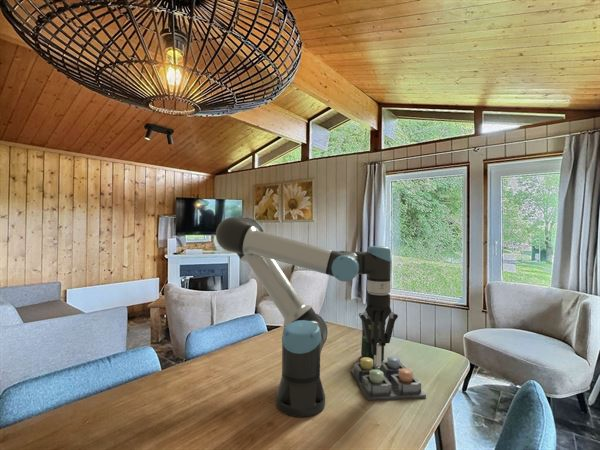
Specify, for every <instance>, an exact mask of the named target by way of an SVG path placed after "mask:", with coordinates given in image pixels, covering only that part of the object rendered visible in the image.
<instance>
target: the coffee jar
mask: <svg viewBox="0 0 600 450" xmlns="http://www.w3.org/2000/svg"><path fill="white" fill-rule="evenodd" d="M367 322H368V326H369V331H370V335H371V319H370V317H369V316H368V315H367ZM361 326H362V327H361V328H362V329H361V333H362V334H361V348H360V349H361V358H363V357H368V358H371V359H373V363H374V355H373V354H372V352H371V347H372V345H371V344H369V343H368V342H367V341H366V338H365V333H364V329H363V324H362V323H361ZM378 340H379V322H378V326H377V343H379V341H378ZM384 361H385V353H384V354H383V355H381V362H384Z"/></svg>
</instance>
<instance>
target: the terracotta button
mask: <svg viewBox="0 0 600 450" xmlns="http://www.w3.org/2000/svg"><path fill="white" fill-rule="evenodd" d="M413 373H414V372H413V370H411V369H408V368H407V369H404V368H402V369H399V381H400V382H402V383H412V382H413V375H414V374H413Z"/></svg>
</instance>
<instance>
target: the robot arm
mask: <svg viewBox="0 0 600 450" xmlns="http://www.w3.org/2000/svg"><path fill="white" fill-rule="evenodd" d="M215 238H216V242H217V244H218V246H219V247H221V248H222V249H223V250H225V251H228V252H230V253H236V255H237V257H239V259H240V260H241V261H243V262H246V263H248V265H249V267H250V268H251V270H252V271H253V273H254V275H255V276H256V278H257V279H258V280H259V282H260V283H261V285H262V286H263V288H264V290H265V291H266V292H267V294H268V295H269V297H270V298H271V300H272V302H273V304H274V305H275V307H276V308H277V309H278V311H279V313H280V314H281V316H282V317H283V330H282V335H281V345H282V347H281V349H282V350H281V379H280V380H279V384H278V388H277V390H276V394H275V406H276V408H277V410H279V412H281V413H283V414H285V415H288V416H290V417H297V418H304V417H305V418H306V417H312V416H315V415H318V414H319V413H321V412H322V411H323V410H324V409H325V407H326V393H325V390H324V387H323V383H322V380H321V355H322V354H321V353H322V350H323V348H324V345H325V343H326V341H327V337H328V332H329V331H328V325H327V321H325V319H324V317H322V316H321V315H320V314H318V313H316V311H315V310H314V309H313V307H312V306H311V305H310V304H305V303H304V301H303V300H302V298H301V297H300V295H299V294H298V292H297V290H296V289H295V288H294V287H293V284H292V283H291V282H290V280H289V279H288V277H287V276H286V275H285V273H284V272H283V269H282V268H281V267H280V265H279V264H278V262H281V263H285V264H288V265H292V266H296V267H298V268H302V269H306V270H310V271H313V272H316V273H317V272H318V273H320V274H324V275H328V276H331V277H334V278H335V279H336V280H338V281H340V282H350V281H352V280H354V279H355V278H356V277H357V275H367V279H366V281H367V282H366V283H367V285H366V291H367V293H366V308H364V310H365V311H363V312H362V313H361V312H360V313H359V314H358V317H359V318H360V320H361V325H362V324H363V329H364V333H365V338H366V341H367V342H368V343H369V344H371V345H372V347H371V352H372V354H373V355H374V363H375V365H376V366H377V367H380V366H381V355H383V354H384V355H385V347H386V344H390V343H391V339H392V335H393V330H394V327H395V322H396V320H397V319H398V317H399V315H398V314H396V313H395V312H393V311H392V309H391V295H390V293H391V273H392V272H391V270H392V259H391V258H392V256H391V254H392V251H391V249H390V247H389V246H384V245H369V246H368V247H367V250H366V251H347V250H333V249H329V248H324V247H321V246H318V245H313V244H309V243H306V242H304V241H303V242H302V241H299V240H294V239H292V238H287V237H284V236H280V235H276V234H272V233H268V232H265V231H264V228H263V226H262V224H260V222H258V221H257V220H255V219H253V218H251V217H235V216H233V217H228V218H225V219H223V220H222V221H221V222H220V223H219V224H218V226H217V228H216V230H215ZM367 315H368V316H369V317H370V319H371V335H370V331H369V326H368V322H367ZM386 320H387V322H386ZM378 322H379V340H378V341H379V343H377V326H378Z"/></svg>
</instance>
